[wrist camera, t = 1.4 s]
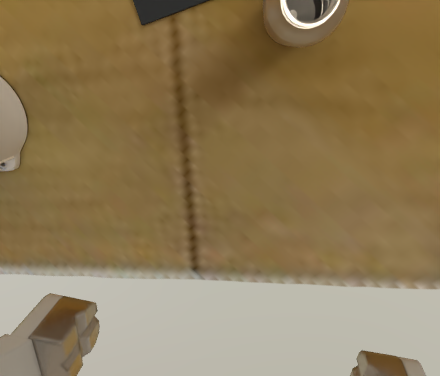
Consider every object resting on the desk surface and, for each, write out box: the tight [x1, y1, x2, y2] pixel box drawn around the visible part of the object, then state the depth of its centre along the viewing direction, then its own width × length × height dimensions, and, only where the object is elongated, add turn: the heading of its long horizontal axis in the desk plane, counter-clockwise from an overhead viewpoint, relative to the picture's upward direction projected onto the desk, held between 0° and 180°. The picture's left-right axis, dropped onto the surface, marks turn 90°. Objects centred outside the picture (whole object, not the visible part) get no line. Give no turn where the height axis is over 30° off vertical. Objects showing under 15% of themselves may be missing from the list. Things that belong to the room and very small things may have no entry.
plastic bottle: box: [263, 0, 349, 47], centre depth 29 cm, size 6×7×20 cm
